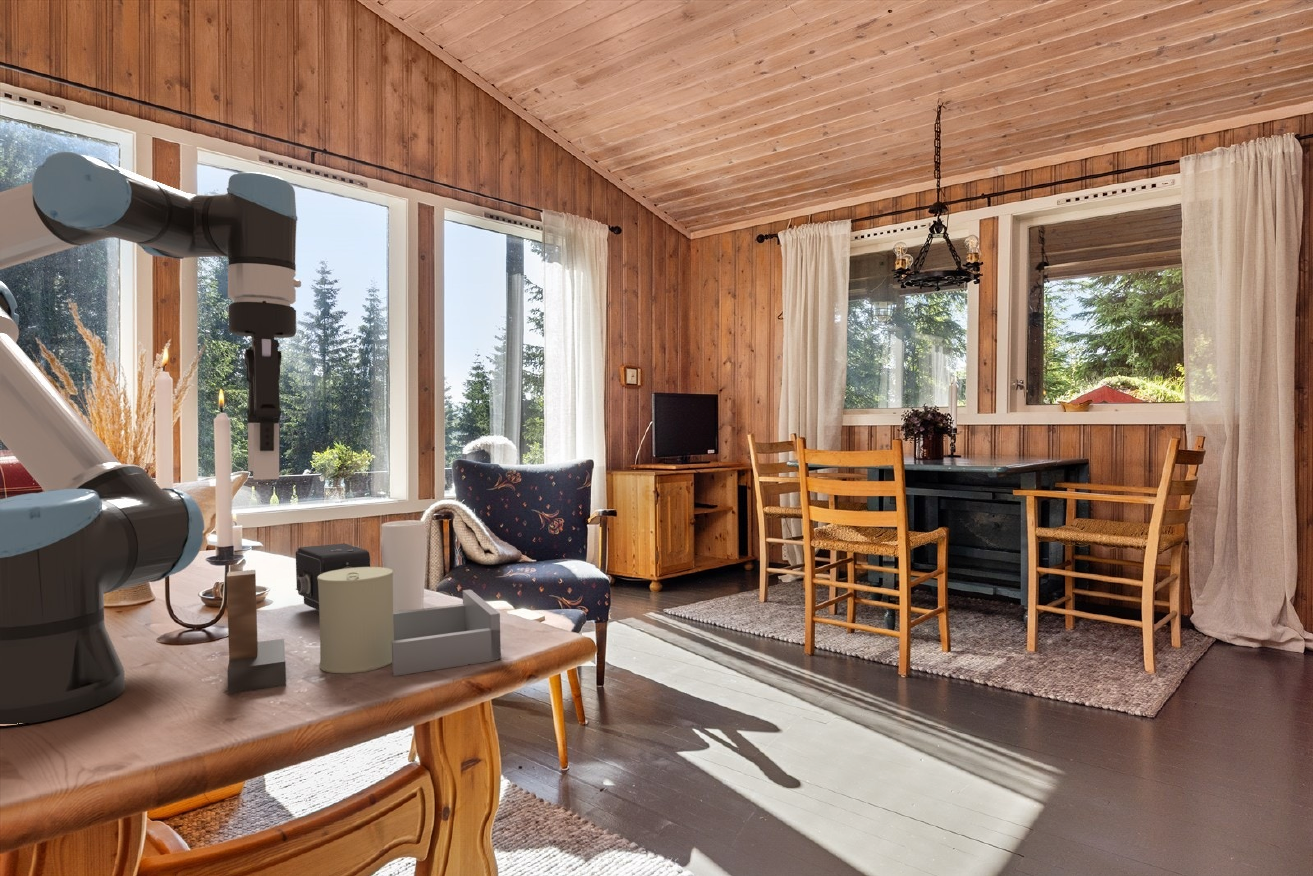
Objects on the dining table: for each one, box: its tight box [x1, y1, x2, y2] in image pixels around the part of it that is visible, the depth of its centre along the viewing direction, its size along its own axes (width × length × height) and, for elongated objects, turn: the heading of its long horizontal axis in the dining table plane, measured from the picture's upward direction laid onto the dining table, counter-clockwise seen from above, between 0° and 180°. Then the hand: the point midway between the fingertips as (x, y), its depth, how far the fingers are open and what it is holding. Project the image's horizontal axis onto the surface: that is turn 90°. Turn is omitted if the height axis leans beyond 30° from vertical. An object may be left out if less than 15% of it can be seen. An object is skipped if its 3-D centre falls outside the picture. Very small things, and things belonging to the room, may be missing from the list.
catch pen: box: [391, 589, 502, 677], centre depth 106 cm, size 13×16×6 cm
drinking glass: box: [380, 519, 428, 612], centre depth 124 cm, size 7×7×15 cm
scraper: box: [226, 569, 287, 695], centre depth 96 cm, size 6×11×13 cm, turn 26°
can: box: [317, 566, 394, 675], centre depth 101 cm, size 9×9×12 cm
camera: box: [295, 543, 371, 612], centre depth 129 cm, size 11×11×15 cm
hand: (262, 475), depth 98 cm, fingers open, 13 cm apart
